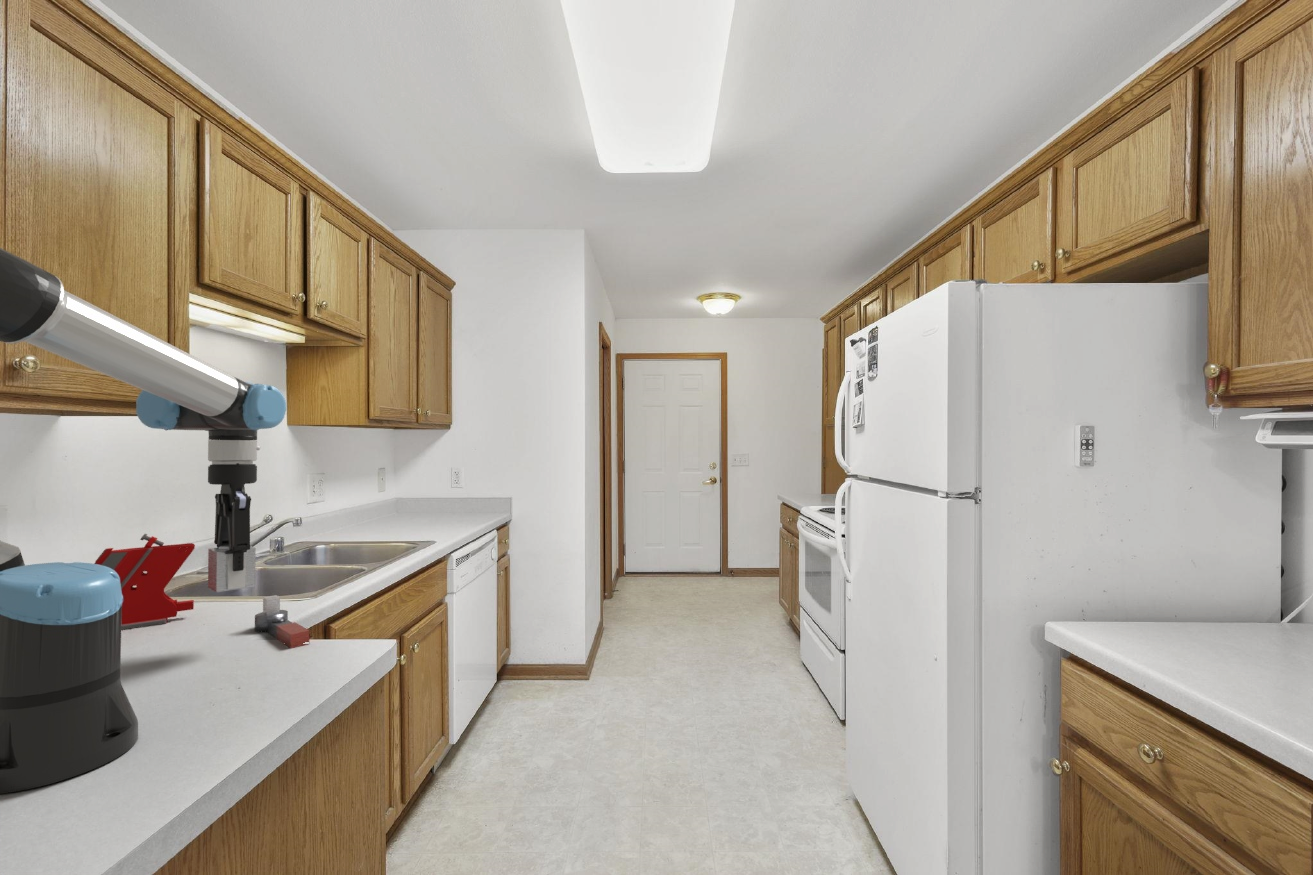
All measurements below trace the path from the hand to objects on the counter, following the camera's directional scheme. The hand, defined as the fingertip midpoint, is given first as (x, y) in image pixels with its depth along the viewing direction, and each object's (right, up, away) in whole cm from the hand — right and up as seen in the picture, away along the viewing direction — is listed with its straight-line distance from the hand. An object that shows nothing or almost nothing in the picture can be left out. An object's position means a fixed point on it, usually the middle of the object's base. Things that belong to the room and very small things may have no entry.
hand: (231, 585), depth 110 cm
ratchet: (+5, -12, +8) cm, 15 cm away
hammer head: (0, 0, 0) cm, 0 cm away
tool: (-34, -13, +13) cm, 38 cm away
